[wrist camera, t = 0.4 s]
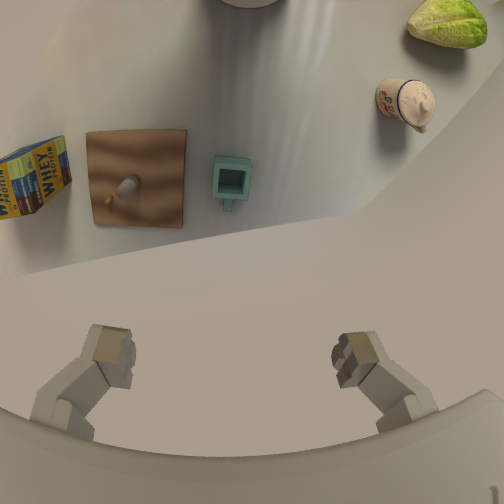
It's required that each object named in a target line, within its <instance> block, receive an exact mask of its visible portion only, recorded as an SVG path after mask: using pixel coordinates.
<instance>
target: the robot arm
mask: <svg viewBox="0 0 504 504" xmlns="http://www.w3.org/2000/svg"><path fill="white" fill-rule="evenodd" d="M221 1H223V2H225V3H227V4H230V5H232V6H236V7H242V8H258V7H263V6H267V5H270V4H272V3H274V2H276V1H278V0H221ZM131 337H132V334H131V330H130V329H123V328H116V327H109V326H104V325H97V324H93V325H92V326H91V327H90V330H89V332H88V335H87V338H86V341H85V344H84V346H83V350H82V352H81V356H80V358H75V359H74V360H73V361H72V362H71V363H69V364H68V365H67V366H66V367H65V368H64V369H63V370H61V371H60V372H59V373H58V374H56V375H55V376H54V377H53V378H52V379H51V380H50V381H48V382H47V383H46V384H45V385H44V386H43V387H41V388H40V389H39V390H38V392H37V395H36V398H35V401H34V405H33V408H32V412H31V416H30V420H27V419H25V418H23V417H20V416H18V415H16V414H14V413H12V412H9V411H7V410H5V409H3V408H1V407H0V504H504V400H502V399H501V398H500V397H499V396H498V395H496V394H495V393H494V392H492V391H490V390H488V389H483V390H481V391H479V392H477V393H475V394H474V395H472V396H470V397H468V398H466V399H464V400H462V401H460V402H458V403H457V404H454V405H452V406H450V407H448V408H446V409H444V410H441V411H439V410H438V407H437V405H436V403H435V400H434V398H433V396H432V394H431V392H430V389H429V388H428V387H427V386H425V385H424V384H423V383H422V382H420V381H419V380H418V379H416V378H415V377H414V376H413V375H411V374H410V373H409V372H407V371H406V370H405V369H404V368H402V367H401V366H400V365H398V364H397V363H396V362H394V361H393V360H389V357H388V355H387V353H386V351H385V349H384V347H383V345H382V343H381V341H380V339H379V337H378V334H377V333H376V332H375V331H367V332H354V333H343V334H342V335H340V337H339V343H338V344H337V345H335V346H334V348H333V350H332V355H331V358H332V363H333V367H334V368H336V369H337V370H338V373H337V375H336V376H337V379H338V382H339V385H340V388H348V387H356V386H358V388H359V389H360V390H361V391H362V392H363V393H364V394H365V395H366V396H367V397H368V398H369V399H370V400H371V401H372V403H373V404H374V405H375V406H376V407H377V408H378V409H379V410H380V411H381V412H382V413H383V414H384V415H383V416H382V417H381V418H380V419H379V420H377V422H376V426H377V429H378V432H379V434H377V435H373V436H370V437H366V438H363V439H359V440H355V441H351V442H346V443H342V444H338V445H333V446H328V447H323V448H317V449H311V450H305V451H298V452H291V453H283V454H273V455H261V456H242V457H199V456H182V455H169V454H160V453H152V452H145V451H138V450H132V449H126V448H121V447H116V446H111V445H107V444H102V443H98V442H94V441H93V437H94V430H95V429H94V428H93V426H92V425H91V424H90V423H89V422H88V421H87V420H86V419H85V416H86V415H87V414H88V413H89V412H90V411H91V409H92V408H93V407H94V406H95V405H96V404H97V402H98V401H99V400H100V399H101V398H102V397H103V395H104V394H105V393H106V392H107V390H109V388H110V387H117V388H124V389H130V386H131V381H132V376H133V374H132V372H131V368H132V367H133V366H134V365H135V359H136V348H135V343H134V342H133V341H132V340H131ZM109 386H110V387H109Z"/></svg>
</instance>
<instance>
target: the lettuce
mask: <svg viewBox="0 0 504 504" xmlns="http://www.w3.org/2000/svg"><path fill="white" fill-rule="evenodd" d="M407 28H408V31H409V32H410V34H411V35H412V36H414V37H416V38H419V39H422V40H425V41H428V42H431V43H434V44H438V45H441V46H444V47H453V48H460V49H470V48H476V47H478V46H480V45H482V44H483V43H485V41H486V38H487V25H486V21H485V19H484V17H483V16H482V14H481V13H480V12H479V10H478V9H477V8H476V7H475V6H474V4H473V3H472V2H471V1H470V0H425V1H424V2H422V3H421V4H420V5H419V6H418V7H417V9H416V10H415V11H414V13H413V14H412V16H411V18H410V19H409V21H408V24H407Z"/></svg>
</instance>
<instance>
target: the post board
mask: <svg viewBox="0 0 504 504" xmlns="http://www.w3.org/2000/svg"><path fill="white" fill-rule="evenodd" d="M186 131H187V130H115V131H98V132H88V133H86V147H87V164H88V177H89V187H90V196H91V204H92V212H93V218H94V224H101V225H125V226H146V227H166V228H182V226H183V184H184V162H185V145H186Z"/></svg>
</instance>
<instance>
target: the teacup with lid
mask: <svg viewBox="0 0 504 504" xmlns="http://www.w3.org/2000/svg"><path fill="white" fill-rule="evenodd" d="M376 101H377V104H378V107H379V108H380V110H381V111H382V112H383V113H384V114H385V115H387V116H388V117H391V118H394V119H397V120H400V121H403V122H406V123H407V124H409V125H411V126H412V127H413V128H414V129H415V130H416V131H417V132H419V133H424V132H425V131H426V124H427V123H428V122H429V121H430V120H431V119H432V117H433V115H434V111H435V101H434V97H433V94H432V92H431V91H430V89H429V88H428V87H427V86H426V85H425V84H424V83H422V82H420V81H418V80H401V79H386V80H384V81H382V82H381V83H380V85H379V86H378V88H377V91H376Z"/></svg>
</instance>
